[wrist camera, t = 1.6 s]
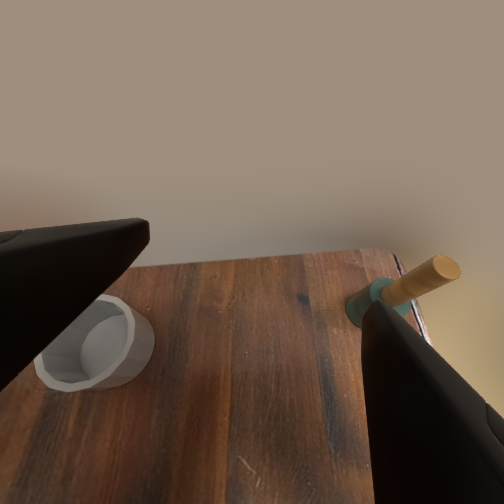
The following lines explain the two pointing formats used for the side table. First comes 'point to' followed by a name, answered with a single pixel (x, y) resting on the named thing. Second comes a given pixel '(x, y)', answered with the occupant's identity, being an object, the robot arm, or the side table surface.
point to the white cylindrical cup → (98, 348)
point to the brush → (403, 287)
